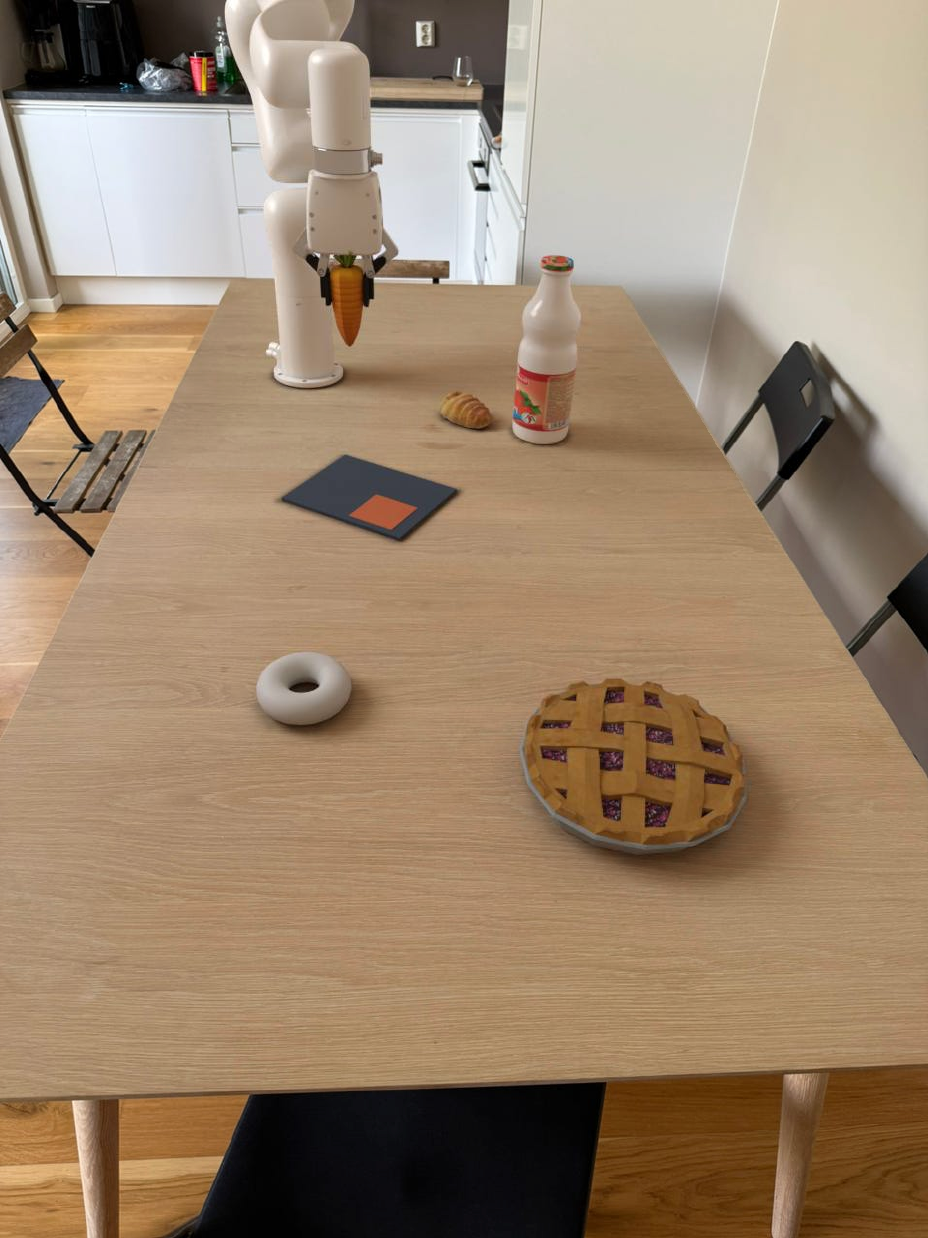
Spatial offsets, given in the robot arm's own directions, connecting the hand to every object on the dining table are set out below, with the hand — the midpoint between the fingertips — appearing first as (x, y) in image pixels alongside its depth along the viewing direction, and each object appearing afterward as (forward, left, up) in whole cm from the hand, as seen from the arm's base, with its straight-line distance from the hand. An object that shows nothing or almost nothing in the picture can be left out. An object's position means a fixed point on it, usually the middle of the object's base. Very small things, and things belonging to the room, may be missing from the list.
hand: (347, 302), depth 126 cm
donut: (+28, -50, -24) cm, 62 cm away
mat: (+10, -10, -23) cm, 27 cm away
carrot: (0, 0, -7) cm, 7 cm away
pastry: (+9, +21, -24) cm, 33 cm away
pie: (+62, -43, -24) cm, 79 cm away
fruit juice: (+22, +23, -24) cm, 40 cm away
